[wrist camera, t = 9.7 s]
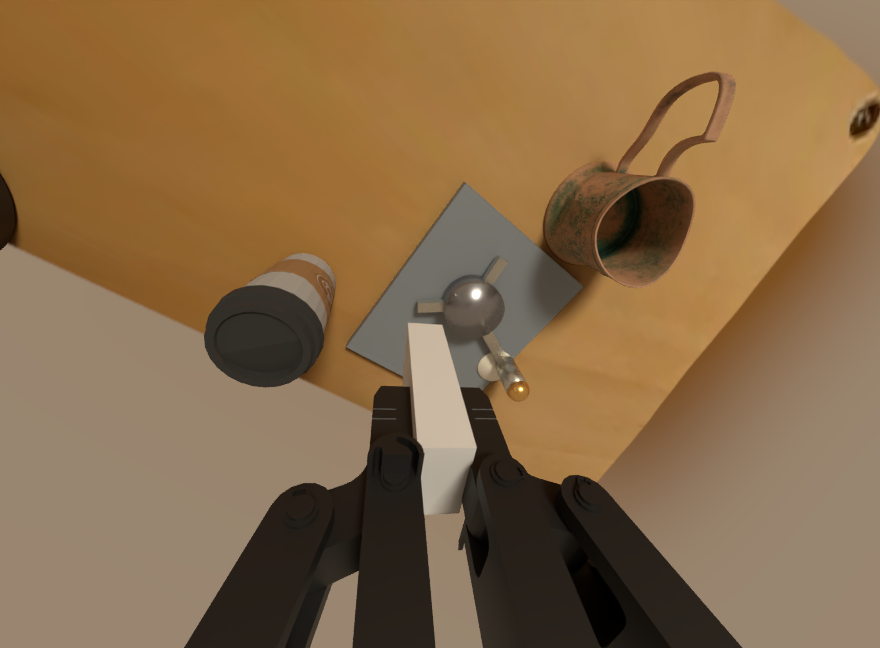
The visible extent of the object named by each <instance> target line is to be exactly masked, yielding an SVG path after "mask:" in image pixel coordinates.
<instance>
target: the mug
mask: <svg viewBox="0 0 880 648" xmlns="http://www.w3.org/2000/svg"><path fill="white" fill-rule="evenodd" d="M715 80H717V81H718V83H719V93H718V97H717V101H716V104H715V108H714V110H713V113H712V116H711V118H710V121H709V123H708V126H707V128H706V131H705V132H704V134H703V135H701V136H695V137H690V138H687V139H685V140H682V141H681V142H679V143H677V144H676V145H675V146H674V147H673V148H672V149H671V150H670V151H669V152H668V153H667V154H666V156H665V157H664V159H663V161H662V163H661V165H660V167H659V169H658V171H657V174H656V175H655V176H644V175H633V174H632V173H631V172H630V171H629V170H628V168H629V166H630V164H631V162H632V160H633V159H634V158H635V156H636V155H637V154H638V153H639V152H640V151H641V149H642V148H643V147H644V146H645V145H646V144H647V142H648V141H649V140H650V138H651V137H652V136H653V134H654V133H655V131H656V129H657V128H658V126H659V124H660V123H661V121H662V119H663V117H664V116H665V114H666V112H667V111H668V109H669V108H670V107H671V105H672V104H673V103H674V102H675V101H676V100H677V99H678V98H679V97H680V96H681V95H683V94H684V93H685V92H687V91H688V90H690V89H692V88H694V87H696V86H698V85H701V84H703V83H707V82H711V81H715ZM735 87H736V83H735V79H734V77H733V76H732V75H729V74H726V73H720V72H708V73H704V74H700V75H697V76H694V77H691V78H689V79H687V80H685V81H683V82H682V83H680V84H678V85H677V86H675V87H674V88H673V89H672V90H671V91H669V92H668V93H667V94H666V95H665V96H664V97H663V99H662V100H661V101H660V102H659V104H658V105H657V107H656V108H655V110H654V112H653V113H652V115H651V117H650V119H649V121H648V122H647V124H646V126H645V128H644V129H643V131H642V132H641V134H640V135H639V137H638V138H637V140H636V141H635V142H634V143H633V145H632V146H631V147H630V148H629V149H628V151H627V152H626V153H625V155H624V156H623V157H622V159H621V161H620V163H619V164H617V163H613V162H596V163H591V164H588V165H585V166H583V167H581V168H579V169H577V170H576V171H574V172H573V173H572V174H570V175H569V176H568V177H567V178H566V179H565V180H564V181H563V182H562V183H561V184H560V185H559V187H558V188H557V189H556V191H555V192H554V194H553V196H552V197H551V199H550V202H549V204H548V207H547V210H546V214H545V220H544V232H545V237H546V241H547V243H548V246H549V247H550V249H551V250H552V252H553V253H554V254H555V255H556V256H557V257H558V258H560V259H561V260H563V261H565V262H567V263H570V264H574V265H588V266H591V267H592V268H594V269H596V270H597V271H599V272H600V273H601V274H602V275H604V276H607V277H609V278H611V279H613V280H615V281H616V282H618V283H620V284H622V285H624V286H627V287H631V288H643V287H646V286H649V285H651V284H653V283H655V282H656V281H658V280H659V279H660V278H661V277H662V276H664V275H665V274H666V273H667V272H668V271H669V270H670V268H671V267H672V266H673V265H674V263H675V262H676V260H677V258H678V257H679V255H680V253H681V251H682V249H683V246H684V244H685V242H686V239H687V236H688V234H689V231H690V228H691V224H692V220H693V217H694V212H695V197H694V194H693V191H692V189H691V188H690V186H689V185H688V184H687V183H685V182H684V181H682V180H680V179H677V178H673V177H668V176H669V175H670V172H671V170H672V168H673V166H674V164H675V162H676V161H677V159H678V158H679V156H680V155H681V154H682V153H683V152H684V151H685V150H687V149H688V148H690V147H692V146H694V145H697V144H701V143H708V142H716V141H717V139H718V137H719V135H720V133H721V130H722V128H723V126H724V123H725V121H726V119H727V116H728V114H729V111H730V108H731V105H732V102H733V99H734V94H735Z"/></svg>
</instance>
